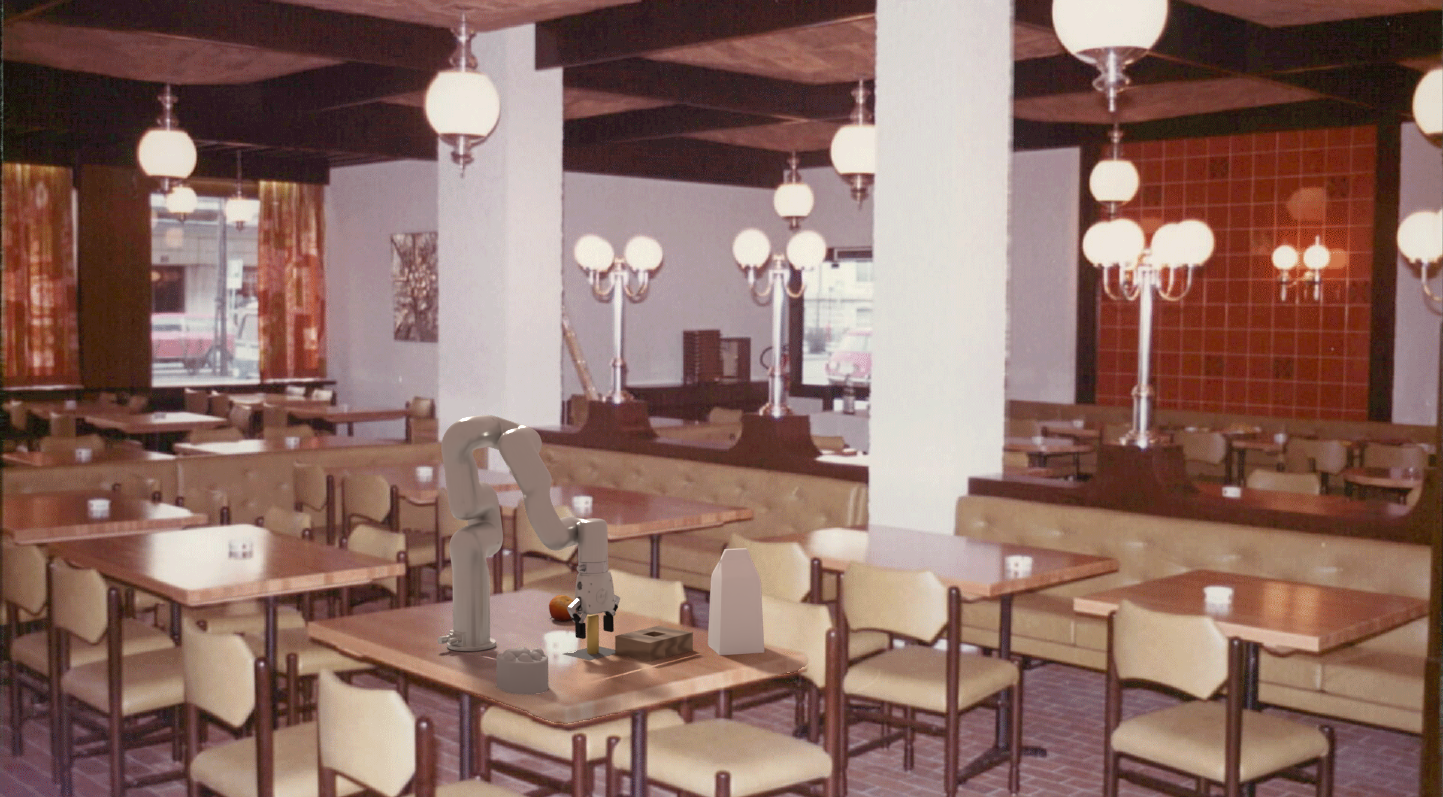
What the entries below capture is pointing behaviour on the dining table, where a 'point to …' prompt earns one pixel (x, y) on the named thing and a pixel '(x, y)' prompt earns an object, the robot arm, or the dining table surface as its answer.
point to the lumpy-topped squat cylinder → (522, 671)
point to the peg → (593, 634)
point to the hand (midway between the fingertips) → (594, 634)
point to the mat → (586, 656)
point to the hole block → (653, 643)
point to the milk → (735, 605)
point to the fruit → (560, 608)
